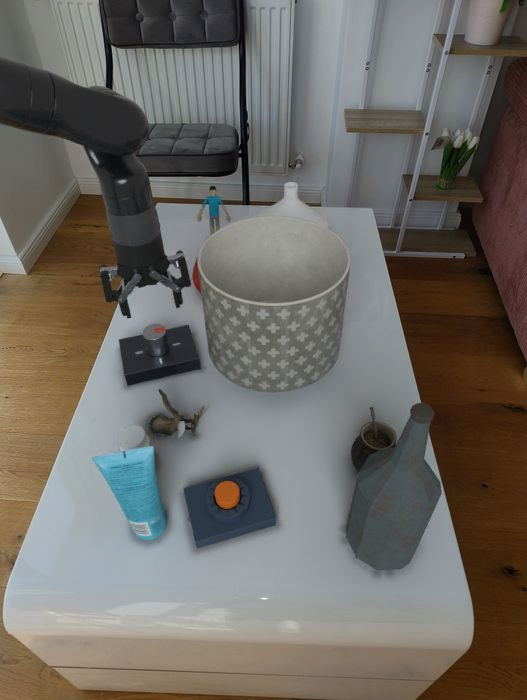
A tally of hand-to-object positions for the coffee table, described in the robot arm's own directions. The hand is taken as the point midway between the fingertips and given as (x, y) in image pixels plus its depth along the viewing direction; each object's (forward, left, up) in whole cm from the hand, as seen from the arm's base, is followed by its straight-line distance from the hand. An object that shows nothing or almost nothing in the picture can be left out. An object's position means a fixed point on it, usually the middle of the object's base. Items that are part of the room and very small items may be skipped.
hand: (153, 310), depth 91 cm
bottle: (+24, -44, -14) cm, 52 cm away
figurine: (+19, +39, -14) cm, 45 cm away
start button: (+4, -33, -10) cm, 35 cm away
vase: (+34, +26, -14) cm, 45 cm away
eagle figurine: (-1, -15, -14) cm, 21 cm away
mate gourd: (+28, -32, -14) cm, 45 cm away
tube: (-8, -32, -14) cm, 36 cm away
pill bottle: (-7, -21, -14) cm, 27 cm away
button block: (+4, -33, -14) cm, 36 cm away
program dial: (-1, +2, -11) cm, 11 cm away
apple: (+15, +20, -14) cm, 29 cm away
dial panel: (-1, +2, -14) cm, 14 cm away
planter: (+21, -5, -14) cm, 25 cm away
